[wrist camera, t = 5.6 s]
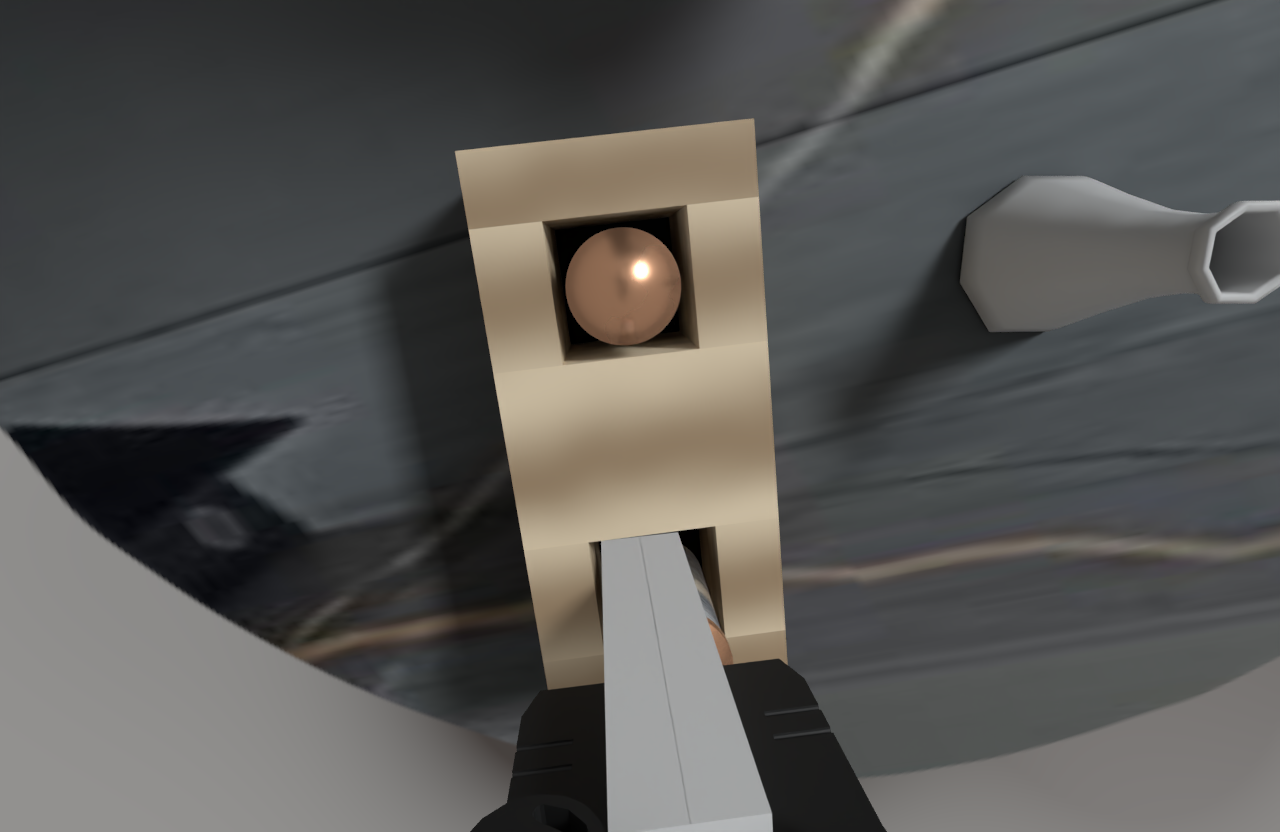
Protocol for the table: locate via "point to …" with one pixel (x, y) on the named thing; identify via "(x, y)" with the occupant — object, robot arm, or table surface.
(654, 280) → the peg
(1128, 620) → the table surface
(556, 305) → the oak block
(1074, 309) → the flask
